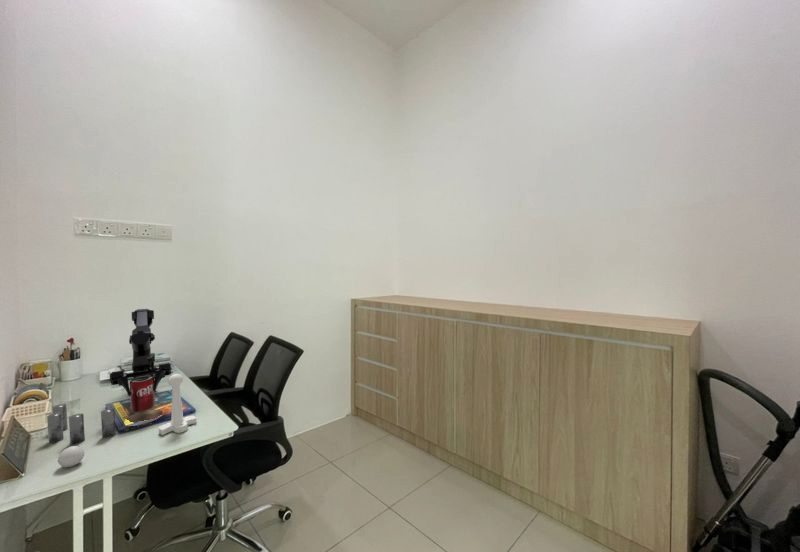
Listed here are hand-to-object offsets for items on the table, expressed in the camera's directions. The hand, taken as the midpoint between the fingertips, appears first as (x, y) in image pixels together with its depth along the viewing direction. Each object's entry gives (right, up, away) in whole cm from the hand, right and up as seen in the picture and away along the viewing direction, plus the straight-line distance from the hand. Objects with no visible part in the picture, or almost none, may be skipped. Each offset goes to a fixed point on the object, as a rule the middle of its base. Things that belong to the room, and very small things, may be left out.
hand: (142, 393), depth 123 cm
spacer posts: (-15, -11, -9) cm, 21 cm away
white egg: (0, -12, -27) cm, 30 cm away
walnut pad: (-1, -11, +1) cm, 11 cm away
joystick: (+19, -11, -7) cm, 23 cm away
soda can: (-1, -7, +1) cm, 7 cm away
